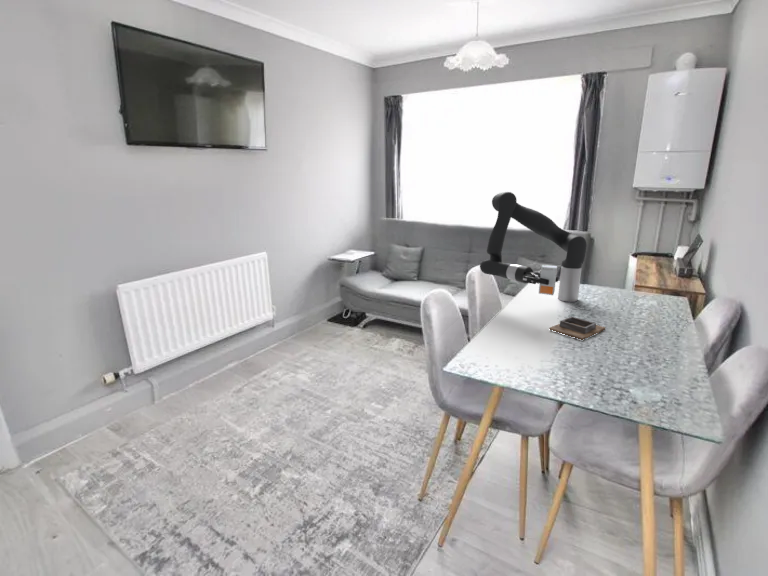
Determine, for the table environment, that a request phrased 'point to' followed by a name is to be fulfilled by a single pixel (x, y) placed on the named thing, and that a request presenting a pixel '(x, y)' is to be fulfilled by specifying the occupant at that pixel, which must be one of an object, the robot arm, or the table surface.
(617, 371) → the table surface
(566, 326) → the holder
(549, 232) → the robot arm
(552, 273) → the skincare box
